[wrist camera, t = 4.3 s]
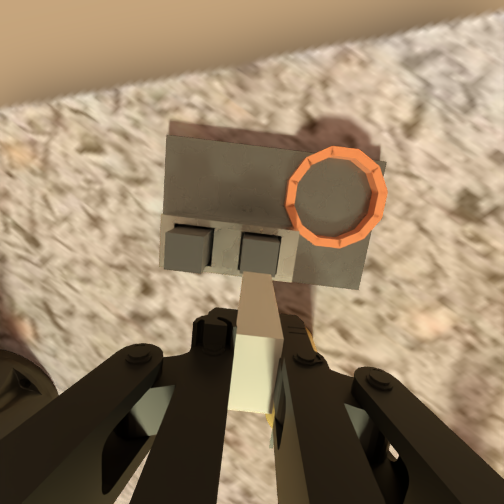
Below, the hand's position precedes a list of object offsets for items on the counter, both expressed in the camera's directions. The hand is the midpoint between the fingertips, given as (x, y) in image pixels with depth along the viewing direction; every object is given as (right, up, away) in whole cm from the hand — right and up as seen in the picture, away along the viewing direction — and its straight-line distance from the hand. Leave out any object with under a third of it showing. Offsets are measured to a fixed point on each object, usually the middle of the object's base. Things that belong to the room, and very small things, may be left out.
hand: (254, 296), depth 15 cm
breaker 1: (-5, +3, +11) cm, 13 cm away
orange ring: (+8, +8, +12) cm, 16 cm away
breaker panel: (+1, +6, +14) cm, 15 cm away
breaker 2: (+1, +3, +12) cm, 13 cm away
